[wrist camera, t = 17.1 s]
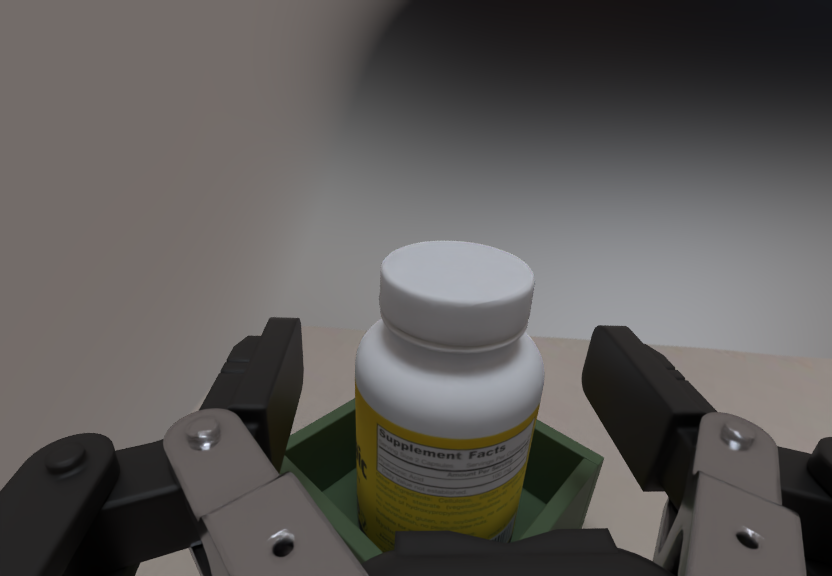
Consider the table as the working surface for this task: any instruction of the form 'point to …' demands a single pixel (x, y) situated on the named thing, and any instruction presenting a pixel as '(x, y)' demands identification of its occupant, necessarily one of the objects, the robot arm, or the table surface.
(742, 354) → the table surface
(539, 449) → the basket
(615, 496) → the table surface
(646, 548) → the table surface
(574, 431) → the table surface
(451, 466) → the supplement bottle
